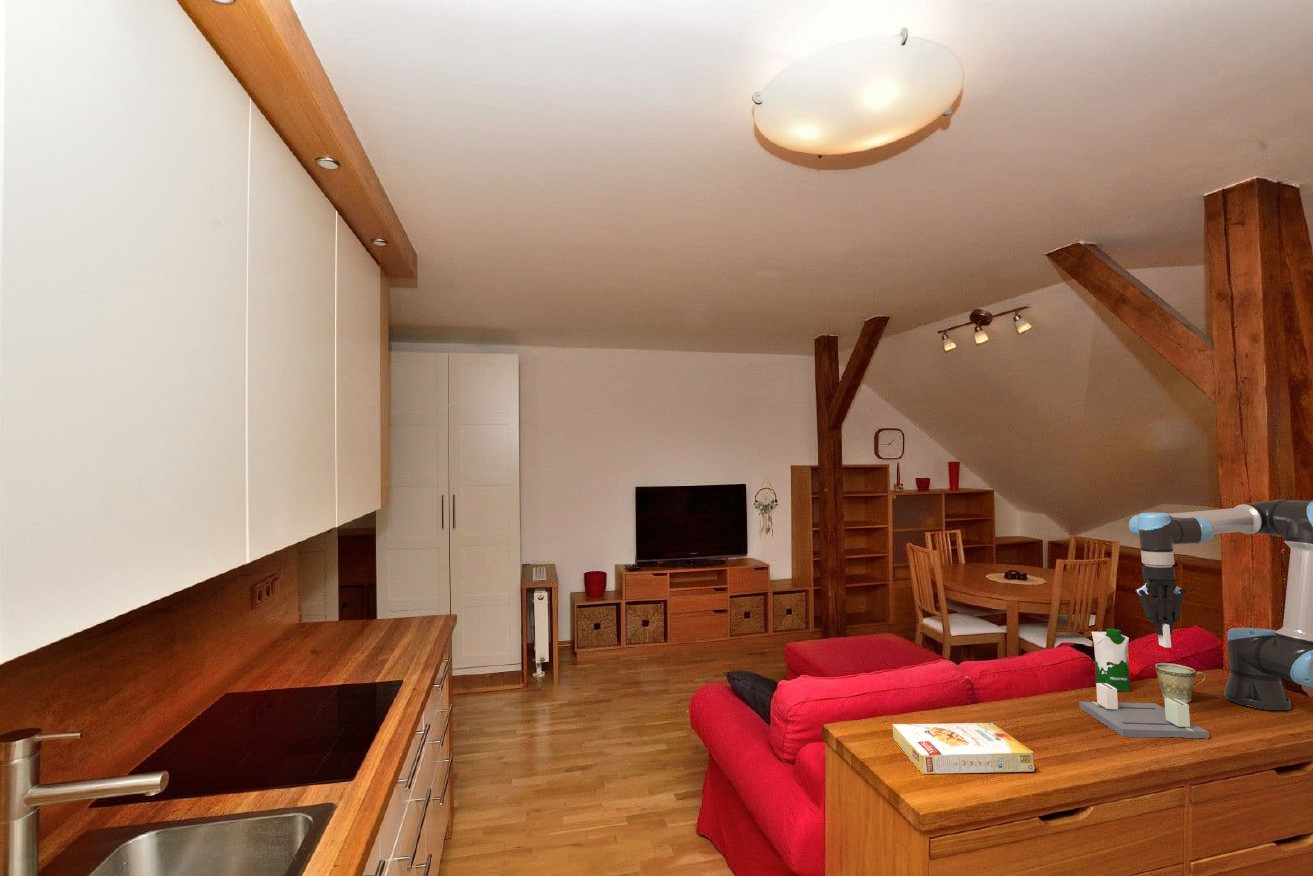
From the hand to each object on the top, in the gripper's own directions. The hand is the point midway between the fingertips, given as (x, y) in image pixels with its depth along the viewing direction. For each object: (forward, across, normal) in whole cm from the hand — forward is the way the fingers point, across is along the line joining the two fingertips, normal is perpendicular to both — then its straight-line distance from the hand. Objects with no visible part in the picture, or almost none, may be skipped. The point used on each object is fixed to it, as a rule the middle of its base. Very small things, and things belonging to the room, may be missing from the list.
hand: (1165, 646), depth 181 cm
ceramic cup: (+23, -17, -20) cm, 35 cm away
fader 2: (+20, +2, +6) cm, 21 cm away
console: (+22, +9, 0) cm, 24 cm away
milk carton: (+23, -2, -30) cm, 38 cm away
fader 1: (+20, +14, -6) cm, 25 cm away
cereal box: (+21, +69, +24) cm, 76 cm away
